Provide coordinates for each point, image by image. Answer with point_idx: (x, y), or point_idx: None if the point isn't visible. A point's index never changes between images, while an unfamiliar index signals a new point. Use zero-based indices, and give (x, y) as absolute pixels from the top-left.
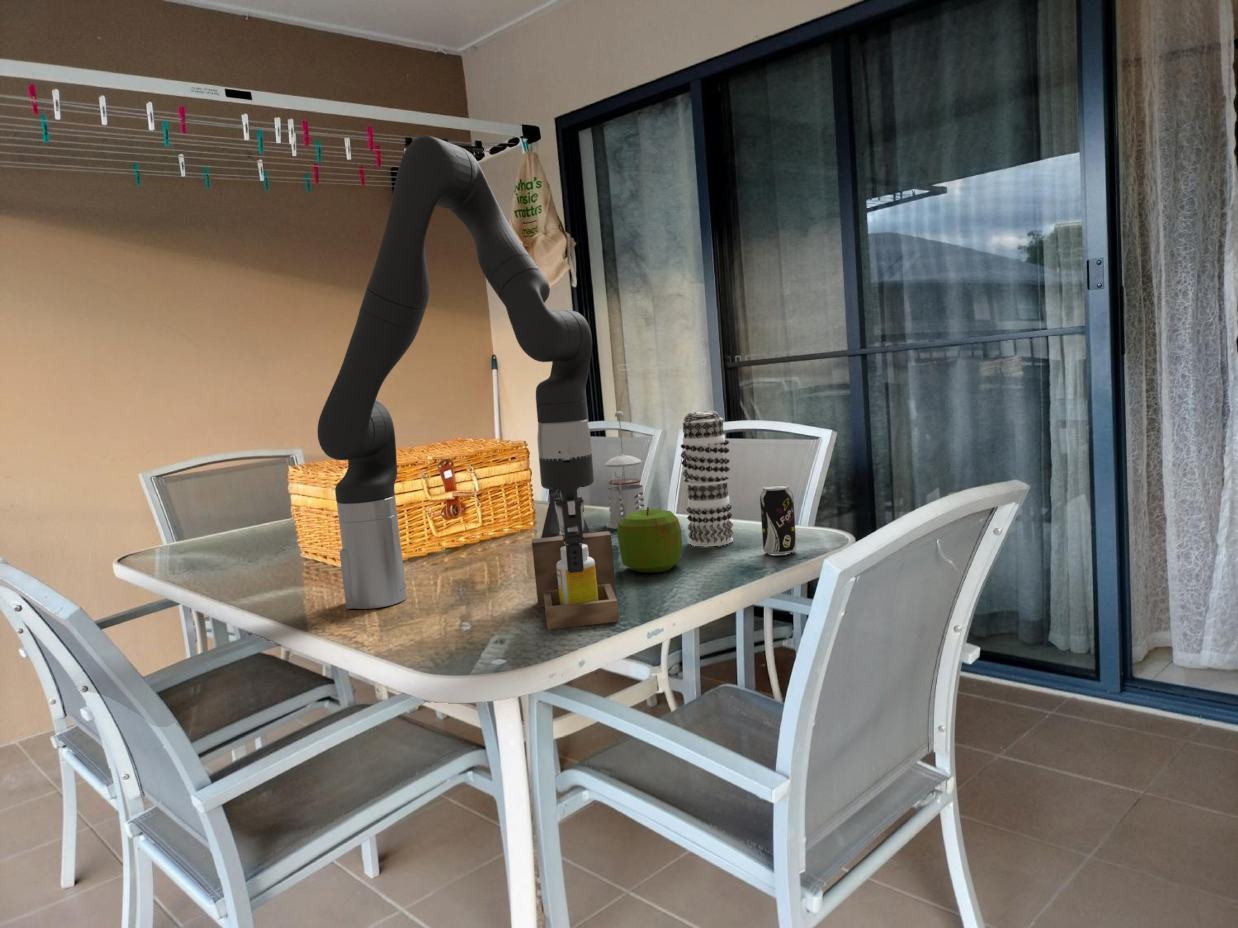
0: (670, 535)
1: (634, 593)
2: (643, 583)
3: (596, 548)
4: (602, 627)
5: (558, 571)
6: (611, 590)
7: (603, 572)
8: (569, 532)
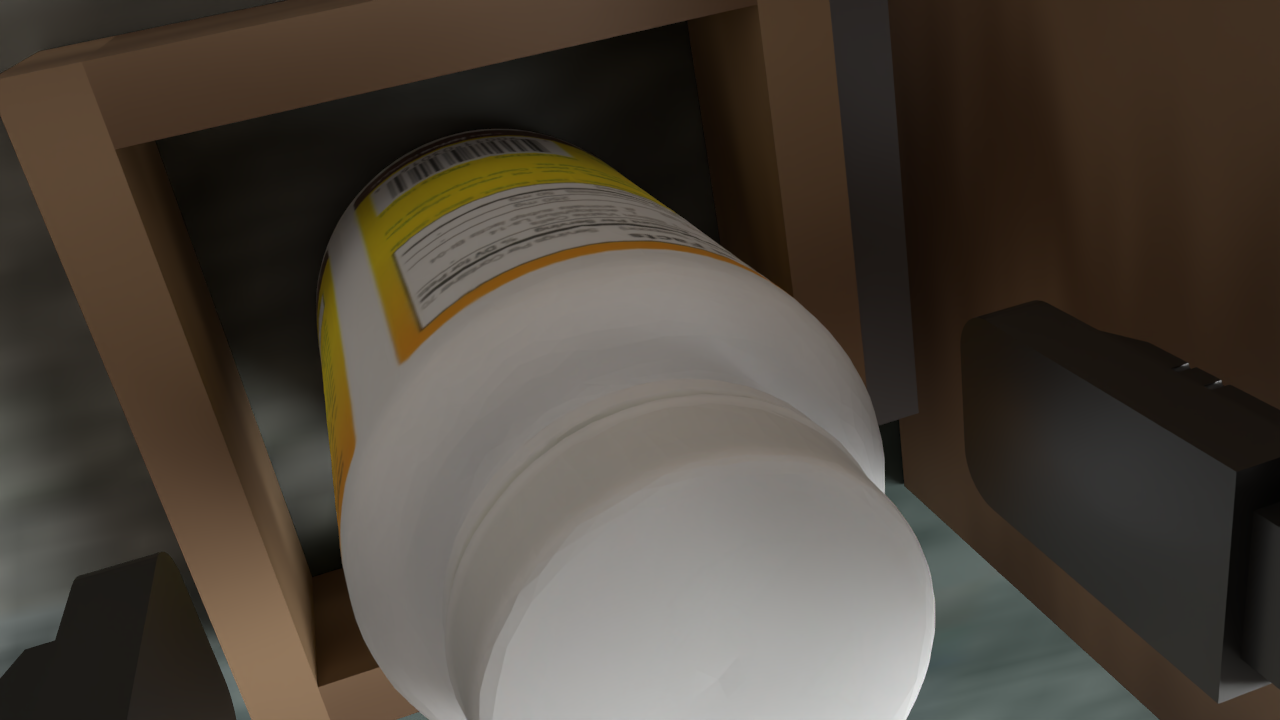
0: None
1: (997, 578)
2: None
3: None
4: (106, 553)
5: (454, 298)
6: None
7: None
8: (1267, 593)
